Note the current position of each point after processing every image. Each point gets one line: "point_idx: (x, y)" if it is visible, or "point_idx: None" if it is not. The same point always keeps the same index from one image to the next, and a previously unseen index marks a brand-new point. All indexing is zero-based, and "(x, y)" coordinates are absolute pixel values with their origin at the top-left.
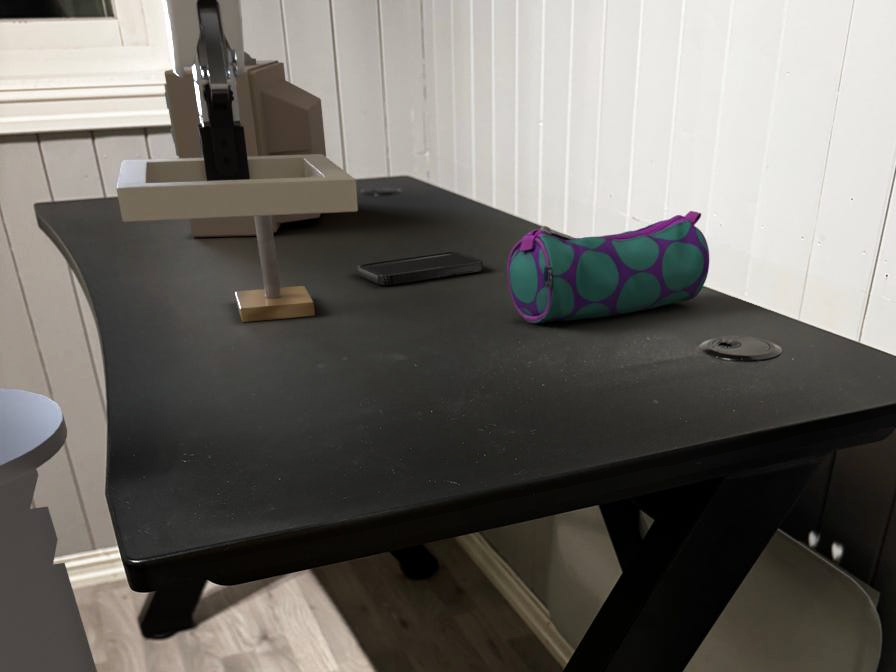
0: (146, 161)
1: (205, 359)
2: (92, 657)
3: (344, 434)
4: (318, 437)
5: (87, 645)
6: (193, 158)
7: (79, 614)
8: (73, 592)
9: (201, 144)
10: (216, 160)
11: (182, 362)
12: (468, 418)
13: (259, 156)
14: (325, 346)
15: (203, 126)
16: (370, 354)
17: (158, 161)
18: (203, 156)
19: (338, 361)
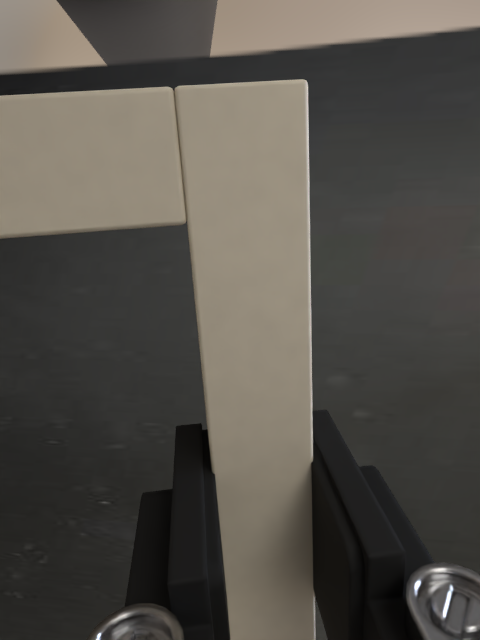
0: (211, 221)
1: (438, 201)
2: (146, 30)
3: (36, 398)
4: (29, 366)
5: (132, 25)
6: (292, 422)
7: (138, 12)
8: (140, 2)
9: (337, 491)
10: (139, 522)
11: (436, 160)
12: (71, 538)
13: (299, 635)
14: (432, 389)
15: (111, 617)
16: (368, 447)
17: (198, 281)
18: (192, 481)
19: (350, 404)
